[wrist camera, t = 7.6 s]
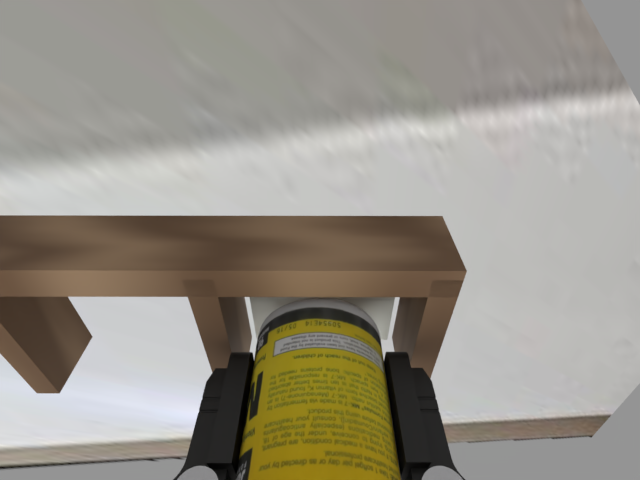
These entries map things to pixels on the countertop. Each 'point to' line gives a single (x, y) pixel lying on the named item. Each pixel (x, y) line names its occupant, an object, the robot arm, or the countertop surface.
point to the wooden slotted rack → (220, 278)
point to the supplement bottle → (318, 398)
